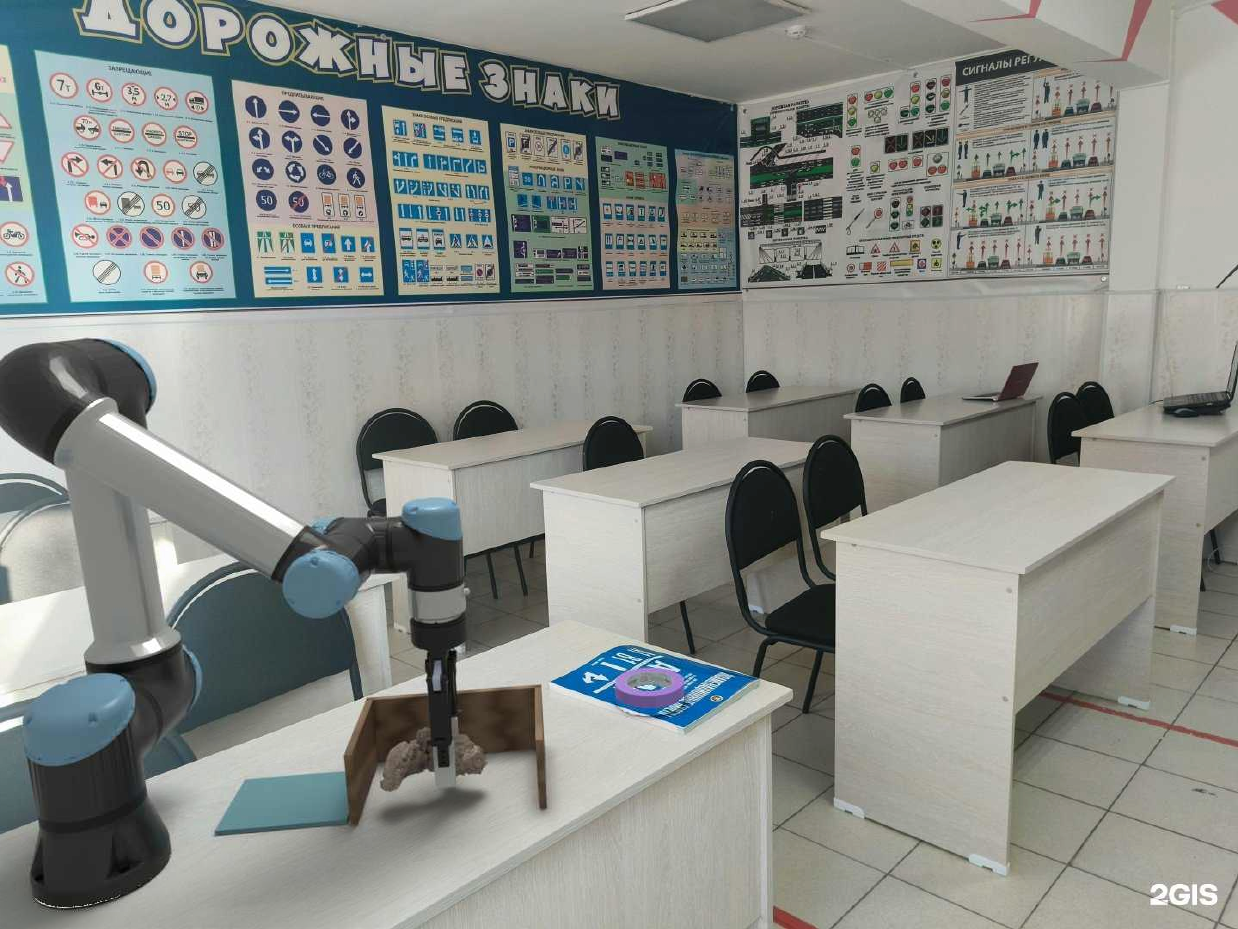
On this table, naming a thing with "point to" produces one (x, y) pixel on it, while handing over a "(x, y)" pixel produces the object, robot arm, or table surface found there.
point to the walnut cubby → (485, 719)
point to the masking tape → (649, 677)
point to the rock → (429, 759)
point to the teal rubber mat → (287, 803)
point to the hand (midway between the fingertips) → (448, 773)
